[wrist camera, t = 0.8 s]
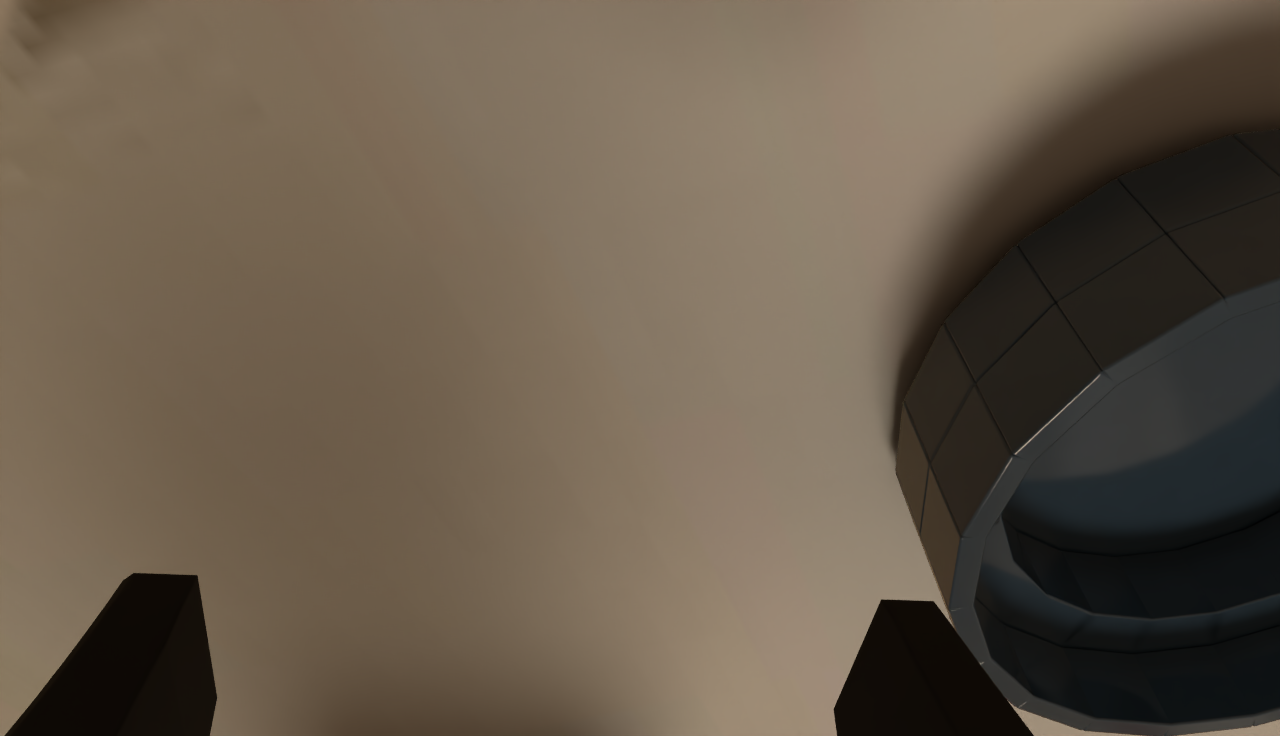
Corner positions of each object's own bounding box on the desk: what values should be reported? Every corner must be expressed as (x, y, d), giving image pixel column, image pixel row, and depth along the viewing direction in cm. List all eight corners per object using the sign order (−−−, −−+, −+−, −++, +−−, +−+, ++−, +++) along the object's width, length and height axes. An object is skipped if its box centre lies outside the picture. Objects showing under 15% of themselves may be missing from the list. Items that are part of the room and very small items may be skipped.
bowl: (1368, 550, 27) (1490, 700, 24) (872, 606, 27) (922, 765, 24) (1620, 75, 19) (1860, 195, 16) (916, 149, 19) (1003, 287, 16)
